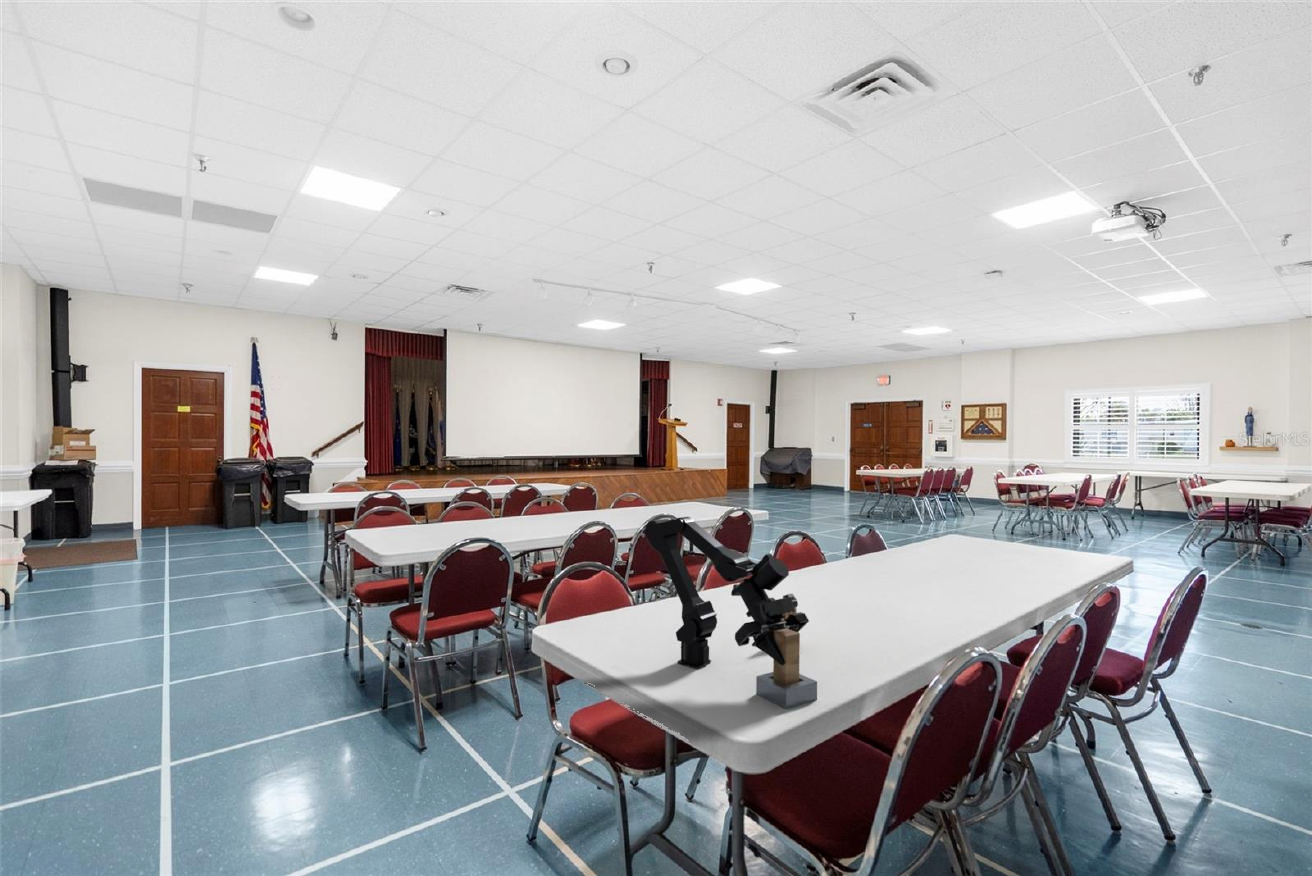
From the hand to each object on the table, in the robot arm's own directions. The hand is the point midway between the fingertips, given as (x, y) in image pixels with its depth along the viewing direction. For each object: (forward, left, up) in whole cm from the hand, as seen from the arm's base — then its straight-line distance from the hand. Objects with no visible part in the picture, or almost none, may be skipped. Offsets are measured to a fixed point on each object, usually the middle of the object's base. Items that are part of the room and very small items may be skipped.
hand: (790, 662), depth 137 cm
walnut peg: (-1, 0, -7) cm, 7 cm away
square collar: (-1, 0, -8) cm, 8 cm away
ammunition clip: (-17, +32, -8) cm, 38 cm away
